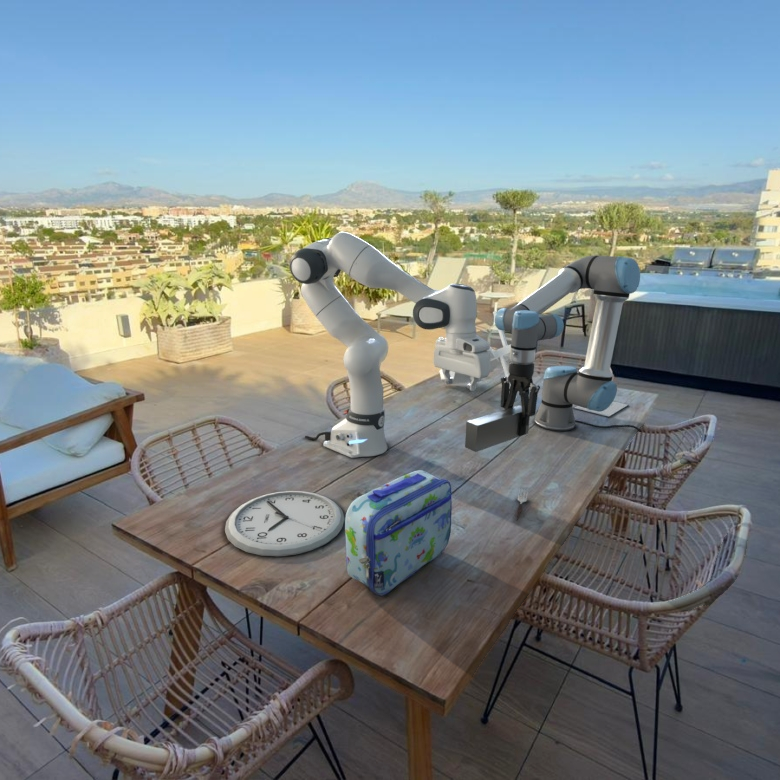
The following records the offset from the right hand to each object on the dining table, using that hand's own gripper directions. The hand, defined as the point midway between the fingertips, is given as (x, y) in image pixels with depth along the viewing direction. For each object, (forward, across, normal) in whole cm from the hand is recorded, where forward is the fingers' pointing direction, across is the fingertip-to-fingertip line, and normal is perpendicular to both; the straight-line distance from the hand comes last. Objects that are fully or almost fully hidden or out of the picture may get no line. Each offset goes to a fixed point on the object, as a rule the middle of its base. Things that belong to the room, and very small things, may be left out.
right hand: (515, 432), depth 167 cm
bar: (+1, 0, -8) cm, 9 cm away
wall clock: (+11, -12, -76) cm, 77 cm away
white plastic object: (+11, -59, +48) cm, 77 cm away
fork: (+11, +20, -21) cm, 31 cm away
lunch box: (+11, +21, -64) cm, 68 cm away
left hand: (-17, -7, -20) cm, 27 cm away
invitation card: (+11, -14, +76) cm, 78 cm away
